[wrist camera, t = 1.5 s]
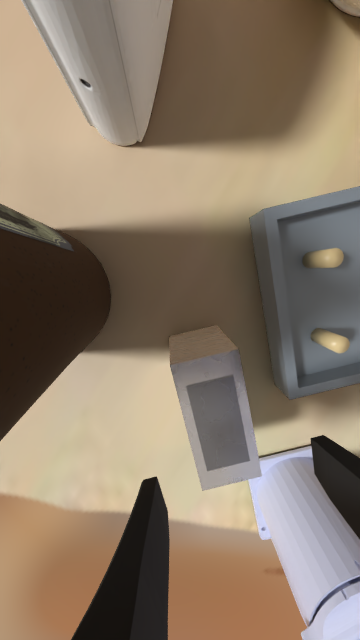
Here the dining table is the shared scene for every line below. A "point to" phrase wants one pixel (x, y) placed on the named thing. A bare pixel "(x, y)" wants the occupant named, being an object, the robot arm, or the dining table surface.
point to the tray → (311, 290)
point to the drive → (214, 406)
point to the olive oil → (43, 309)
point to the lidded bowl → (348, 6)
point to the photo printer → (107, 58)
